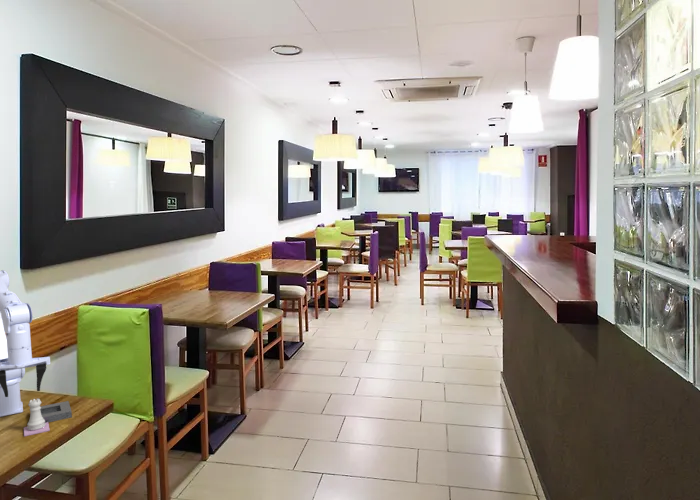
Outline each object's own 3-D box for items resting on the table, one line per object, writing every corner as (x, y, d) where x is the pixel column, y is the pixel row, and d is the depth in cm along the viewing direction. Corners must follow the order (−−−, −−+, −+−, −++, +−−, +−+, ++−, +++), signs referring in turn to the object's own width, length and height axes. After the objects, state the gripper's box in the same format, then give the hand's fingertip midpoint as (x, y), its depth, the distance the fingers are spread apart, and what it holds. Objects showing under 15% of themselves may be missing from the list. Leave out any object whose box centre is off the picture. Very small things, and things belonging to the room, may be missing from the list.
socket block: (30, 414, 155) (30, 408, 155) (68, 406, 160) (68, 400, 160) (31, 425, 146) (31, 419, 146) (71, 417, 152) (71, 411, 152)
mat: (23, 428, 144) (23, 427, 144) (48, 423, 148) (48, 422, 148) (24, 436, 140) (24, 435, 139) (49, 430, 143) (49, 429, 143)
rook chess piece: (35, 432, 141) (33, 404, 141) (23, 430, 143) (21, 402, 142) (49, 425, 145) (47, 398, 145) (38, 423, 147) (36, 396, 146)
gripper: (-13, 354, 138) (-9, 403, 139) (49, 345, 146) (52, 391, 147) (-12, 348, 144) (-8, 395, 145) (48, 340, 152) (51, 384, 153)
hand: (22, 393), depth 147 cm, fingers open, 7 cm apart
